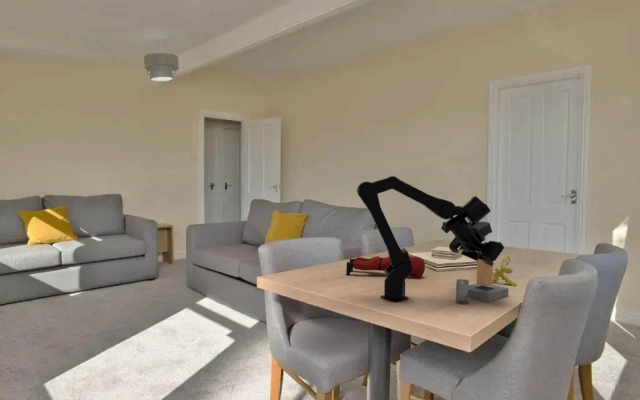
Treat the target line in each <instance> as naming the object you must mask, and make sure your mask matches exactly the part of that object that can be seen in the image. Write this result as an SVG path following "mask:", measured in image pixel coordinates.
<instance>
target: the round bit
mask: <svg viewBox="0 0 640 400" xmlns="http://www.w3.org/2000/svg"><path fill="white" fill-rule="evenodd" d="M455 283H456V284H455V285H456V287H455V303H456V304H458V305H465V306H466V305H468V304H469V297H468V289H469V285H470V284H469V283H470V282H469V280H468V279H466V278H465V279H464V278H458V279H456V282H455Z"/></svg>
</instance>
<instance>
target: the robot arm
mask: <svg viewBox="0 0 640 400" xmlns="http://www.w3.org/2000/svg"><path fill="white" fill-rule="evenodd" d="M390 190H394V191H396V192H398V193H400V194H401V195H403V196H405V197H407V198H408V199H411V200H413V201H415V202H416V203H419V204H421V205H422V206H424V207H425V208H426V209H427V210H428V211H430V212H431V213H433V214H434V215H435V216H437V218H440V219H443V220H447V221H444V222H442V224H441V228H440V230H441V231H443V232H444V233H445V234H448V233H450V231H451V233H452V234H453V235H454V238H453V239H452V241H451V242H450V243H449V247H448V248H449V250H450V251H451V252H452V253H455V254H458V253H459V251H461V252H460V255H462V256H464V257H465V258H469V259H471V260H473V261H475V262H477V252H479V253H480V254H481V255H480V256H479V257H478V259H480V260H481V261H483V262H485V263H487V264H488V265H490V266H493V267H494V264H495V263H494V261H496V260H497V258H498V257H499V256H500V255H501V253H502V252H503V250H504V249H505V246H504V245H503V243H502V242H501V241H497V240H496V241H495V240H489V241H488V242H487V241H485V240H486V236H487V235H489V234H491V233H493V230H492V226H491V222H489V221H481V220H482V219H484V218H485V217H487V215H488V214H490V213H491V212H492V211H491V208H490V207H489V206H488V204H486V203H485V202H483V201H482V200H481V199H480V198H479V197H478V196H475V195H473V196H472V197H471V198H470V200H469V201H467V202H466V203H464V205H463V206H461V205H455V203H454V202H452V201H450V200H447V199H444V198H440V197H437V196H433V195H430V194H428V193H426V192H424V191H422V190H421V189H418V188H417V187H414V186H413V185H411V184H409V183H407V182H405V181H403V180H402V179H400V178H398V177H397V176H394V175H391V176H388V177H386V178H383V179H379V180H376V181H373V182H370V181H362V182H360V183H359V185H357V189H356V193H357V195H358V197H359V198H360V200H361V201H362V202H363V204H364V205H365V207H366V208H367V209H368V211H369V213H370V215H371V218H372V219H373V222H374V224H375V227H377V230H378V233H379V234H380V237H381V238H382V240H383V244H384V245H385V248H386V249H387V253H388V257H389V259H390V263H391V264H390V265H389V266H388V267H387V268H386V269H385V270H384V271H383V272H384V274H385V276H386V278H385V279H384V284H383V285H384V292H383V295H381V296H380V298H381V299H385V300H388V301H390V302H391V301H392V302H394V303H397V302H401V301H405V300H408V299H409V296H406V279H407V277H406V276H408V275H409V274H410V273H411V270H412V265H411V263H413V262H412V261H411V260H410V258H409V257H410V255H409V252H408V250H407V249H406V248H405V247H403V248H402V249H401V247H400V246H399V244H398V242H397V240H396V237H395V236H394V235H395V234H394V233H393V231H392V229H391V227H390V225H389V222H388V220H387V218H386V216H385V214H384V211H383V209H382V208H381V203H380V199H379V194H382V193H385V192H388V191H390Z"/></svg>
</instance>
